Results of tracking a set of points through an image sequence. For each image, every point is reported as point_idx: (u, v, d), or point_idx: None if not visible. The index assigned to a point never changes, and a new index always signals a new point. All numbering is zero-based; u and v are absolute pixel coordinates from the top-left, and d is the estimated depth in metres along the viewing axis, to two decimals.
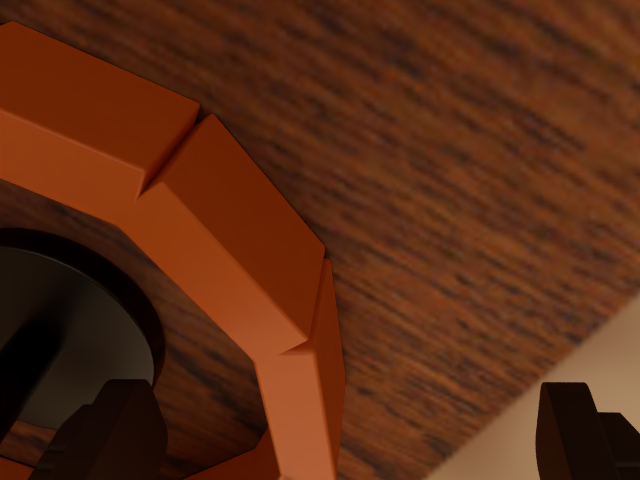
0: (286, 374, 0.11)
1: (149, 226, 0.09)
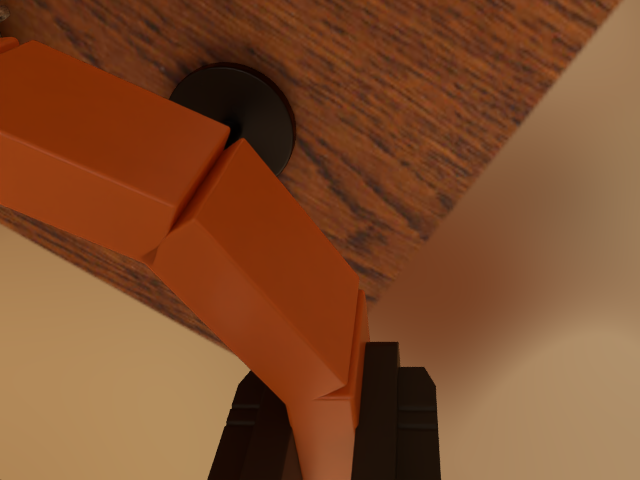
0: (322, 420, 0.10)
1: (178, 264, 0.09)
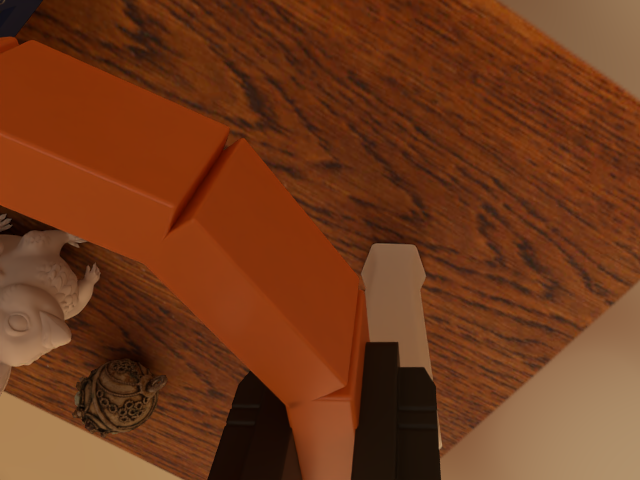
0: (322, 420, 0.10)
1: (177, 265, 0.08)
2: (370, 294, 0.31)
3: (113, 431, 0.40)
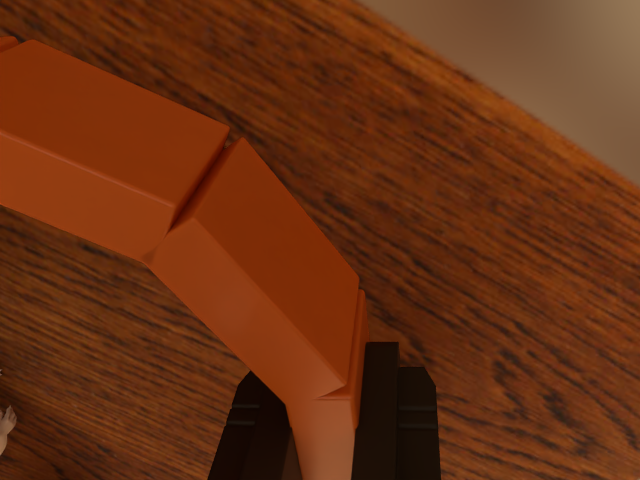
0: (322, 420, 0.10)
1: (177, 264, 0.08)
2: None
3: None
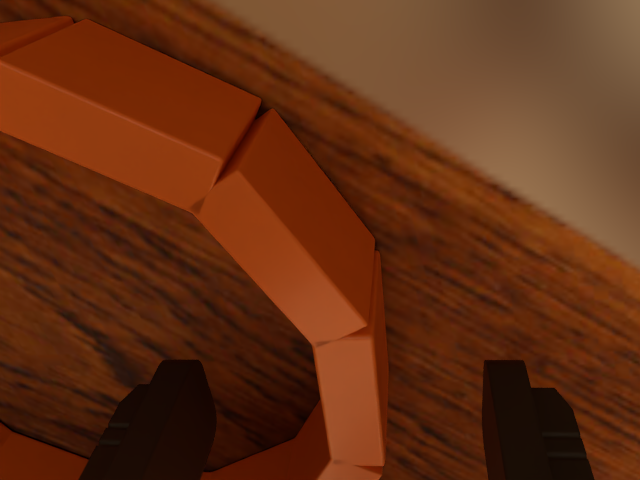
0: (344, 358, 0.11)
1: (222, 214, 0.10)
2: None
3: None
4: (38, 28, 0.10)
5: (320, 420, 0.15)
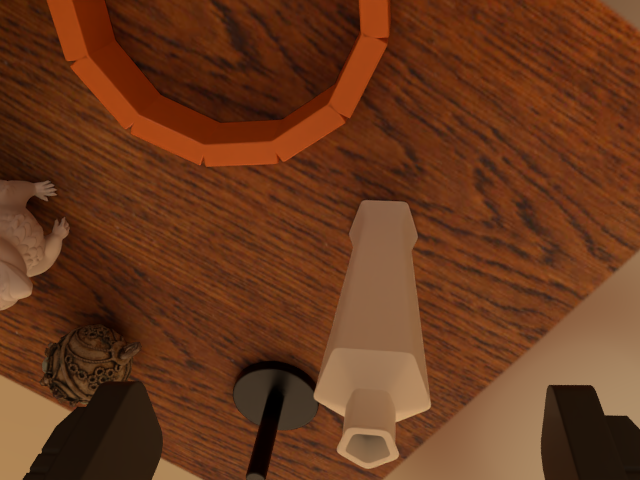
0: None
1: None
2: (357, 249, 0.28)
3: (83, 400, 0.37)
4: None
5: (352, 48, 0.27)
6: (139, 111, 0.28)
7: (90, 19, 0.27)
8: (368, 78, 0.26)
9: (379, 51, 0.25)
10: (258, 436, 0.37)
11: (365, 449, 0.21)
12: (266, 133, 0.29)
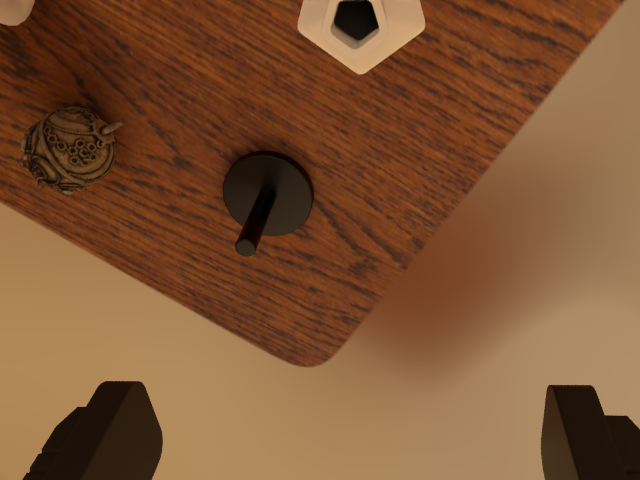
0: None
1: None
2: None
3: (64, 183, 0.36)
4: None
5: None
6: None
7: None
8: None
9: None
10: (248, 217, 0.35)
11: (353, 43, 0.19)
12: None
